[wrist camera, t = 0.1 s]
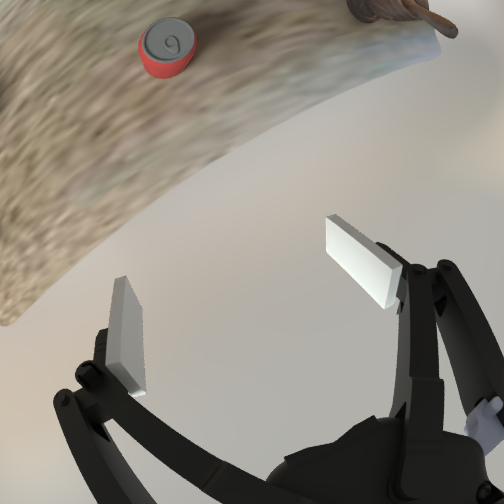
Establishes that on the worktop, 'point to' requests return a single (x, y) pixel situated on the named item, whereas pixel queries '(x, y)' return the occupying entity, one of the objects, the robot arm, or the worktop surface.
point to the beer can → (167, 47)
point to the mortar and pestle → (401, 13)
